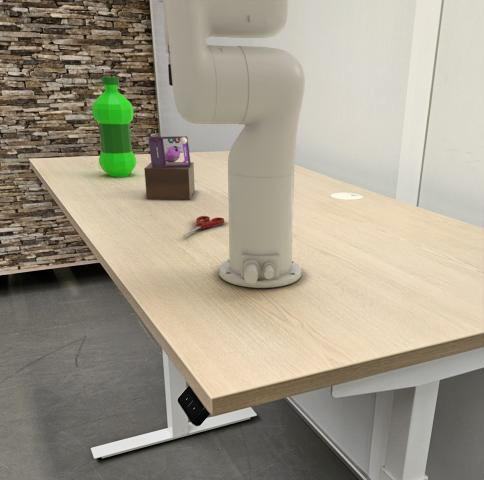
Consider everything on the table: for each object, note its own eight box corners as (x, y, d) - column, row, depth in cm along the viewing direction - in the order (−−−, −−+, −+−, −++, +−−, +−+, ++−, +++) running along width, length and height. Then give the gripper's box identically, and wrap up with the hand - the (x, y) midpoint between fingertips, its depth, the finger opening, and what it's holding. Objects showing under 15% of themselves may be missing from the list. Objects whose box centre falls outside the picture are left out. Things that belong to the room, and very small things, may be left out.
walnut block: (189, 199, 134) (188, 169, 131) (146, 198, 134) (144, 168, 131) (194, 191, 143) (193, 162, 140) (154, 190, 143) (152, 161, 140)
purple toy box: (148, 136, 130) (188, 135, 134) (145, 141, 135) (183, 140, 138) (152, 166, 131) (191, 165, 134) (149, 170, 136) (186, 169, 139)
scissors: (226, 222, 116) (225, 217, 116) (197, 240, 104) (197, 234, 104) (201, 219, 117) (201, 214, 117) (170, 237, 105) (169, 231, 105)
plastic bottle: (141, 177, 157) (133, 78, 147) (100, 179, 153) (89, 77, 143) (136, 171, 165) (128, 76, 155) (97, 172, 162) (87, 76, 151)
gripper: (189, -11, 110) (193, 86, 117) (198, -1, 125) (201, 84, 132) (149, -12, 109) (155, 85, 116) (163, -2, 125) (168, 83, 132)
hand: (180, 85), depth 124 cm, fingers open, 9 cm apart
